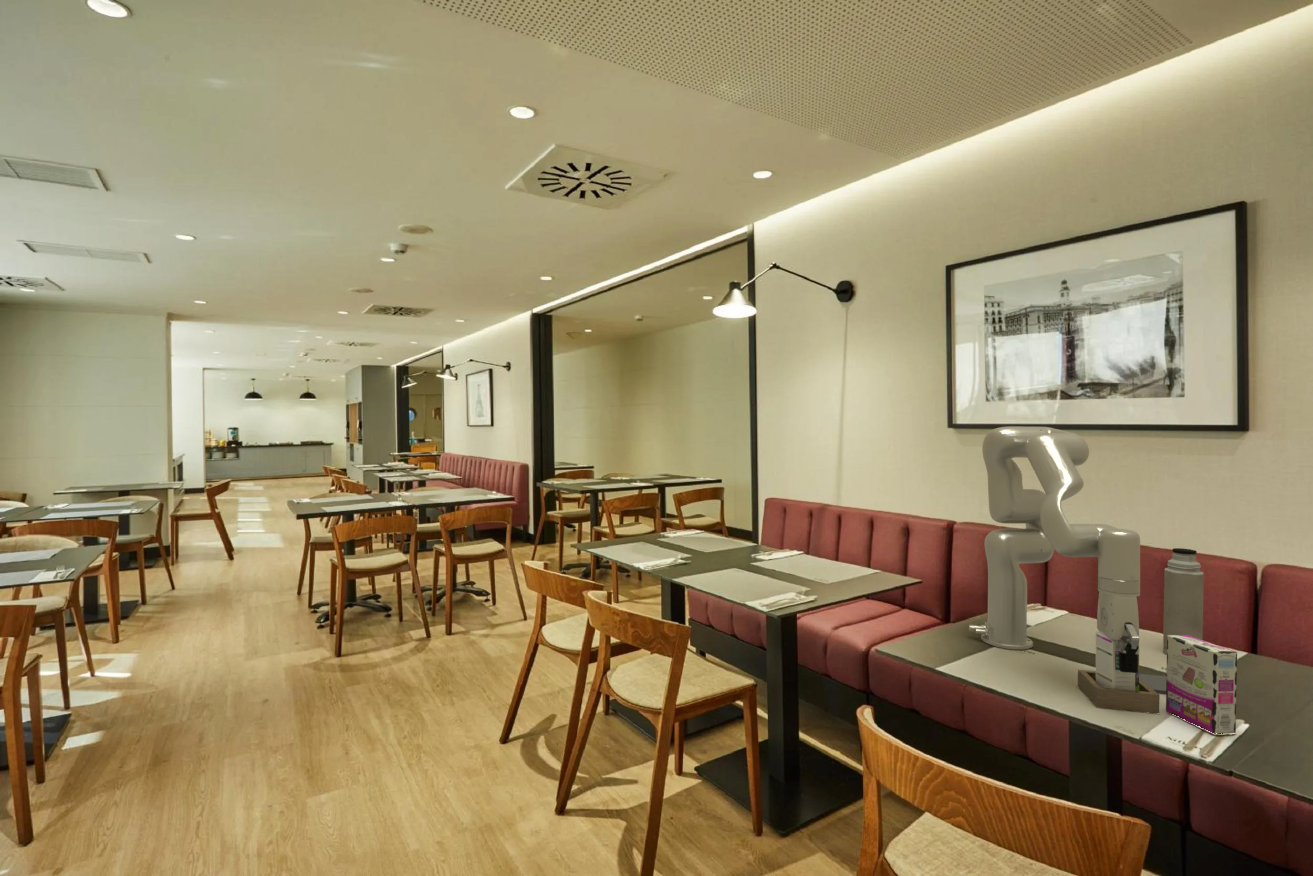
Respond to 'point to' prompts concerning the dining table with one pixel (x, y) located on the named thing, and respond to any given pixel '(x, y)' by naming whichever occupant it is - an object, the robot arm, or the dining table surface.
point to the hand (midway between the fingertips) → (1118, 664)
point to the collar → (1118, 695)
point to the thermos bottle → (1183, 596)
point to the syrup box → (1112, 666)
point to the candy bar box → (1201, 683)
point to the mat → (1155, 682)
